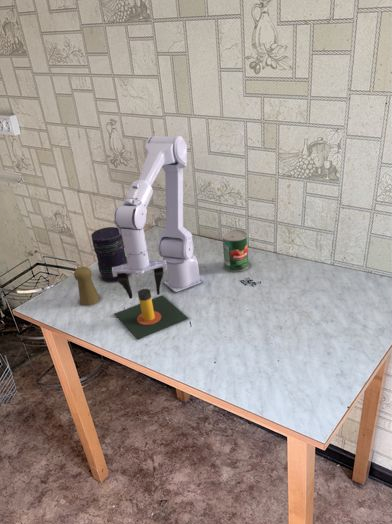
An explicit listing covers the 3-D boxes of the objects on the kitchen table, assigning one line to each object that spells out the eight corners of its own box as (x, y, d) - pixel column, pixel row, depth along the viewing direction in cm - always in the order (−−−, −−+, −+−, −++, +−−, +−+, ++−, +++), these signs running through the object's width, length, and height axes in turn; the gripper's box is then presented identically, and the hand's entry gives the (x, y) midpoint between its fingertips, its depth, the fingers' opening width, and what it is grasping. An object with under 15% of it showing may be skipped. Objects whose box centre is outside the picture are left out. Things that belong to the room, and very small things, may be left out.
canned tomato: (232, 258, 171) (230, 228, 165) (253, 263, 167) (251, 232, 161) (219, 269, 166) (217, 237, 160) (240, 274, 162) (238, 242, 156)
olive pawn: (95, 305, 156) (87, 273, 149) (77, 305, 157) (68, 273, 150) (102, 295, 160) (94, 264, 154) (84, 295, 162) (76, 264, 155)
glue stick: (150, 313, 148) (146, 287, 143) (157, 317, 145) (152, 292, 140) (140, 317, 146) (135, 292, 141) (146, 322, 144) (141, 296, 139)
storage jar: (136, 271, 171) (128, 229, 162) (117, 284, 165) (108, 242, 156) (113, 265, 176) (104, 225, 167) (94, 279, 170) (84, 237, 161)
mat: (162, 296, 156) (162, 294, 156) (188, 318, 144) (188, 317, 144) (114, 314, 150) (114, 312, 150) (137, 339, 139) (137, 337, 138)
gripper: (107, 260, 130) (118, 305, 138) (164, 253, 130) (171, 298, 138) (109, 248, 136) (119, 292, 144) (163, 241, 136) (170, 285, 144)
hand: (144, 294), depth 142 cm, fingers open, 7 cm apart
